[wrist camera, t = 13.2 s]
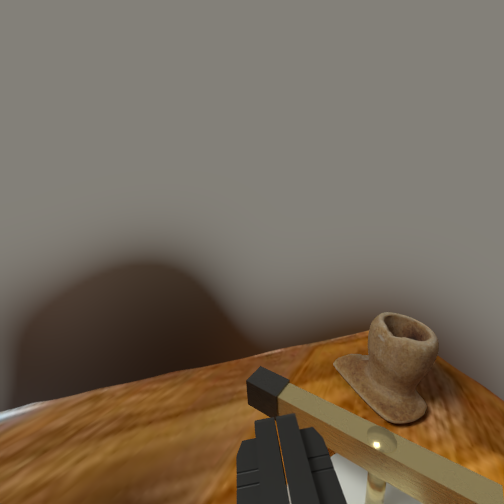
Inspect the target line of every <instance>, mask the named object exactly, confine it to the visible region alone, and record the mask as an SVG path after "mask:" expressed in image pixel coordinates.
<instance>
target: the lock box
mask: <svg viewBox="0 0 504 504" xmlns="http://www.w3.org/2000/svg"><path fill="white" fill-rule="evenodd" d="M330 458H331V460H332V463H333V466H334V470H335V472H336V474H337V477H338V480H339V483H340V485H341V488H342V491H343V494H344V496H345V499H346V502H347V504H365V495H366V485H367V475H368V471H366V470H365V469H363V468H361V467H360V466H358V465H356V464H355V463H353V462H351V461H349V460H348V459H346V458H344V457H343V456H341V455H339V454H338V453H336V454H334V455H333V456H331V457H330ZM287 485H288V484H287ZM288 496H289V502H290V504H291V499H290V494H289V488H288ZM384 504H423V503H421V502H419V501H418V500H416V499H414V498H413V497H411V496H409V495H407V494H406V493H404V492H402V491H401V490H399V489H397V488H395V487H394V486H392V485H390V484H389V483H387V482H386V490H385V497H384Z"/></svg>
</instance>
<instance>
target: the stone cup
mask: <svg viewBox="0 0 504 504" xmlns="http://www.w3.org/2000/svg"><path fill="white" fill-rule="evenodd" d="M438 349H439V343H438V339H437V337H436V335H435V333H434V332H433V331H432V330H431V329H430V328H429V327H427V326H426V325H424V324H423V323H421V322H419V321H417V320H415V319H413V318H410V317H408V316H405V315H401V314H398V313H390V312H385V313H382V314H380V315H378V316H377V317H376V318H375V319H374V320H373V321H372V323H371V326H370V330H369V336H368V353H369V356H368V355H364V356H363V355H360V354H349V355H346V356H342V357H340V358H338V359H336V360H335V362H334V364H333V365H334V367H335V368H336V369H337V370H338V372H339V373H340V374H341V375H342V376H343V378H344V379H345V380H346V381H347V382H348V383H349V384H350V385H351V387H352V388H353V389H354V390H355V391H356V392H357V393H358V394H359V395H360V397H361V398H362V399H363V400H364V401H365V402H366V403H367V404H368V405H369V406H370V407H371V408H372V409H373V410H374V411H375V412H376V413H377V414H379V415H380V416H381V417H382V418H384V419H385V420H387V421H389V422H391V423H395V424H403V423H410V422H413V421H415V420H417V419H419V418H421V417H422V416H423V415H424V414H425V410H426V409H427V405H426V402H425V401H424V400H423V398H422V397H421V396H420V395H419V393H418V392H417V391H416V386H417V385H418V383H419V382H420V381H421V380H422V379H423V378H424V377H425V375H426V374H427V373H428V372H429V370H430V368H431V367H432V365H433V363H434V361H435V359H436V357H437V354H438Z"/></svg>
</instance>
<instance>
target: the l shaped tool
mask: <svg viewBox="0 0 504 504" xmlns="http://www.w3.org/2000/svg"><path fill="white" fill-rule="evenodd" d="M246 384H247V397H248V404H249V405H250V406H252V407H254V408H255V409H257V410H259V411H261V412H262V413H264V414H266V415H267V416H269V417H274V420H276V417H277V416H282V415H287V414H291V413H295V415H296V419H297V422H298V426H299V429H304V428H309V427H314V428H315V429H316V431H317V432H318V433H319V434H320V435H321V436H322V437H323V438H324V441H325V444H326V447H327V448H329V449H331V450H332V451H334V452H336V453H338V454H339V455H341V456H343V457H344V458H346V459H348V460H349V461H351V462H353V463H355V464H356V465H358V466H360V467H361V468H363V469H365V470H366V471H368V475H367V485H366V495H365V504H384V497H385V490H386V482H387V483H389V484H390V485H392V486H394V487H395V488H397V489H399V490H401V491H402V492H404V493H406V494H407V495H409V496H411V497H413V498H414V499H416V500H418V501H419V502H421V503H423V504H504V500H503V489H502V485H500V484H498V483H496V482H494V481H492V480H490V479H488V478H486V477H483V476H481V475H479V474H477V473H475V472H473V471H471V470H469V469H467V468H465V467H463V466H461V465H459V464H457V463H454V462H452V461H450V460H448V459H446V458H444V457H442V456H440V455H438V454H436V453H434V452H432V451H430V450H427V449H425V448H423V447H421V446H419V445H417V444H415V443H413V442H411V441H409V440H407V439H405V438H403V437H401V436H398V435H396V434H394V433H392V432H390V431H389V430H387V429H386V428H384V427H381V426H378V425H376V424H374V423H372V422H369V421H367V420H365V419H363V418H361V417H359V416H357V415H355V414H353V413H351V412H349V411H347V410H345V409H342V408H340V407H338V406H336V405H334V404H332V403H330V402H328V401H326V400H324V399H322V398H320V397H318V396H316V395H313V394H311V393H309V392H307V391H305V390H303V389H301V388H299V387H297V386H295V385H293V384H291V383H289V380H288V379H286V378H284V377H282V376H280V375H278V374H276V373H274V372H272V371H270V370H267V369H265V368H263V367H261V366H260V367H259V368H258V369H257V370H256V371H255V372H254V373H253V374H252V375H251V376H250V377H249V378H248V379H247V380H246Z"/></svg>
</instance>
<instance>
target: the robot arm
mask: <svg viewBox="0 0 504 504" xmlns="http://www.w3.org/2000/svg"><path fill="white" fill-rule="evenodd" d="M276 422H277V427H278V433H279V438H280V444H281V449H282V455H283V460H284V466H285V471H286V477H287V482H288V488H289V494H290V499H291V504H347V502H346V499H345V496H344V494H343V491H342V488H341V485H340V483H339V480H338V477H337V474H336V472H335V470H334V466H333V463H332V460H331V458H330V456H329V452H328V449H327V447H326V444H325V441H324V438H323V437H322V436H321V435H320V434H319V433H318V432H317V431H316V429H315V428H314V427H309V428H304V429H299V426H298V422H297V419H296V415H295V413H291V414H287V415H282V416H277V417H276ZM255 435H256V438H254V439H249V440H244V441H242V443H241V446H240V448H239V451H238V454H237V504H290V502H289V496H288V490H287V485H286V479H285V473H284V468H283V462H282V457H281V451H280V446H279V441H278V436H277V431H276V425H275V420H274V417H271V418H266V419H261V420H256V421H255Z"/></svg>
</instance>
